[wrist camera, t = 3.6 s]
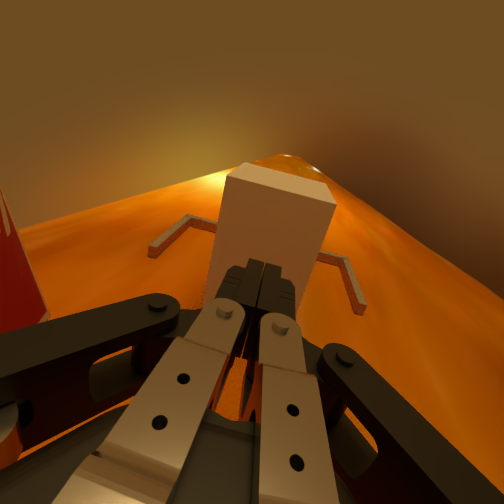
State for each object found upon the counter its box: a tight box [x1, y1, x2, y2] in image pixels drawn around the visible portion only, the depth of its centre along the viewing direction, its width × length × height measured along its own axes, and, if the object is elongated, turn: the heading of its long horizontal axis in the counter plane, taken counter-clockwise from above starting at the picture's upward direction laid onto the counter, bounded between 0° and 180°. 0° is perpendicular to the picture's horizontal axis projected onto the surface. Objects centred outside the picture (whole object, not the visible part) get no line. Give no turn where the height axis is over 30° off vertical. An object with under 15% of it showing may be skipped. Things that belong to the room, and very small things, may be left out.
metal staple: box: [148, 214, 367, 315], centre depth 40 cm, size 27×14×2 cm, turn 82°
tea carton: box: [201, 162, 337, 340], centre depth 26 cm, size 8×8×14 cm
